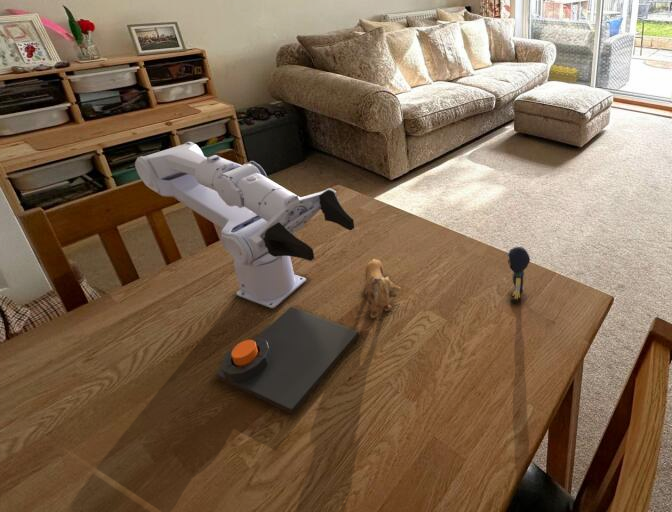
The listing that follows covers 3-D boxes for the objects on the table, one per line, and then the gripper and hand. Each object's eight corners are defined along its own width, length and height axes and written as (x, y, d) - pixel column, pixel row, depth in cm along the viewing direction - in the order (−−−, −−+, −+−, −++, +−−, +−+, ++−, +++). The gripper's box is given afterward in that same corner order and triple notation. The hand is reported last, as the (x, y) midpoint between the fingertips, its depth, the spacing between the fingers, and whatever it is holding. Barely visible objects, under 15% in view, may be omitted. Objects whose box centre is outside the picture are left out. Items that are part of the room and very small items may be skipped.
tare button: (228, 362, 61) (226, 354, 61) (247, 345, 64) (245, 337, 64) (244, 369, 60) (241, 360, 60) (262, 351, 63) (260, 343, 63)
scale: (216, 379, 62) (212, 365, 60) (292, 311, 74) (289, 298, 73) (292, 415, 57) (288, 401, 56) (359, 336, 69) (357, 323, 68)
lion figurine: (405, 320, 73) (401, 281, 69) (375, 333, 70) (370, 293, 67) (381, 271, 84) (376, 236, 81) (354, 281, 81) (349, 244, 78)
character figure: (507, 280, 82) (509, 232, 78) (527, 281, 82) (530, 233, 78) (505, 317, 74) (506, 264, 69) (527, 318, 74) (530, 265, 69)
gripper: (225, 210, 60) (286, 251, 55) (309, 164, 72) (366, 195, 67) (236, 243, 64) (294, 284, 59) (315, 195, 75) (368, 225, 70)
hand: (332, 239), depth 63 cm, fingers open, 7 cm apart
